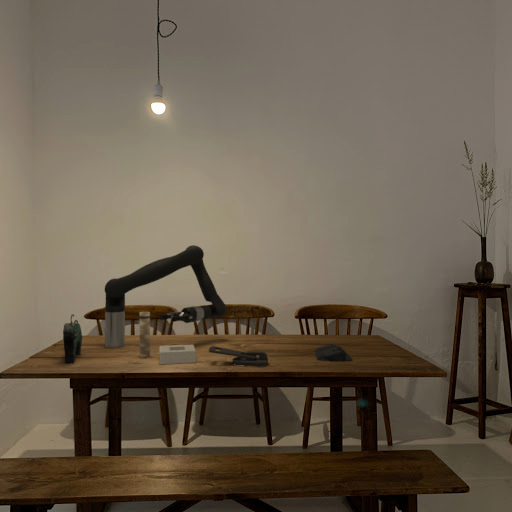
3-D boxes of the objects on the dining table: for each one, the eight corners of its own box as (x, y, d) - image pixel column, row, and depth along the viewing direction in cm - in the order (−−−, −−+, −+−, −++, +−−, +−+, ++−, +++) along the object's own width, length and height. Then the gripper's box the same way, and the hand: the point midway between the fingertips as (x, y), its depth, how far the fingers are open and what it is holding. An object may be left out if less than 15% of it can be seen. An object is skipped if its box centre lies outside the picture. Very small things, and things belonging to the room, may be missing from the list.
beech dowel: (139, 358, 209) (139, 313, 208) (139, 355, 213) (139, 311, 213) (150, 357, 210) (149, 312, 209) (150, 355, 214) (150, 311, 214)
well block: (159, 364, 198) (159, 352, 198) (159, 357, 211) (159, 345, 211) (195, 362, 201) (195, 351, 201) (193, 355, 214) (193, 344, 214)
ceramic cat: (75, 364, 198) (75, 317, 197) (59, 365, 197) (58, 317, 196) (84, 353, 218) (84, 310, 217) (69, 353, 216) (69, 310, 216)
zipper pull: (211, 345, 205) (268, 346, 203) (211, 360, 205) (268, 362, 203) (207, 350, 196) (267, 351, 194) (207, 365, 196) (267, 367, 194)
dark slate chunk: (345, 351, 226) (345, 341, 225) (353, 362, 204) (353, 351, 203) (313, 350, 226) (313, 340, 226) (317, 362, 204) (317, 351, 204)
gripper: (183, 305, 237) (156, 309, 225) (202, 307, 228) (175, 311, 216) (183, 320, 237) (157, 324, 225) (202, 323, 228) (176, 328, 216)
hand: (166, 318), depth 220 cm, fingers open, 8 cm apart
